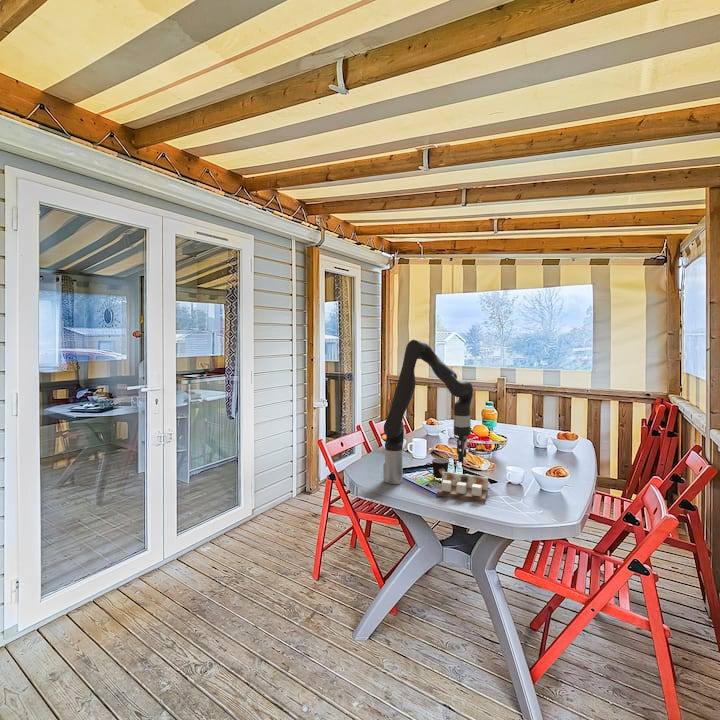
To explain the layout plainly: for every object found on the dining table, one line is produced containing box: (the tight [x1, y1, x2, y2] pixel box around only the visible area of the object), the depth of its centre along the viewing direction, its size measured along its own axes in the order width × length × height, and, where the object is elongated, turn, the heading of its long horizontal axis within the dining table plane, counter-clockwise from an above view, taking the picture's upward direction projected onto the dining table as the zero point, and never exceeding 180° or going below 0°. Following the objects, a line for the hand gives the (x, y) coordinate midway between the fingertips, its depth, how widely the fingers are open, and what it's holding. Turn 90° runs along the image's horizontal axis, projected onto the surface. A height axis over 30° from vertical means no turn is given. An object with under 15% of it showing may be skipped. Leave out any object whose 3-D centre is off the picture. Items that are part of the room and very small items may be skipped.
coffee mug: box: [424, 457, 449, 478], centre depth 220 cm, size 12×9×10 cm
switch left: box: [441, 480, 452, 492], centre depth 198 cm, size 4×4×4 cm
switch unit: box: [436, 471, 489, 504], centre depth 198 cm, size 22×12×8 cm, turn 67°
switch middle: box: [456, 482, 467, 494], centre depth 195 cm, size 4×4×4 cm
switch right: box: [472, 484, 482, 496], centre depth 192 cm, size 4×4×4 cm
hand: (462, 459), depth 190 cm, fingers open, 8 cm apart
